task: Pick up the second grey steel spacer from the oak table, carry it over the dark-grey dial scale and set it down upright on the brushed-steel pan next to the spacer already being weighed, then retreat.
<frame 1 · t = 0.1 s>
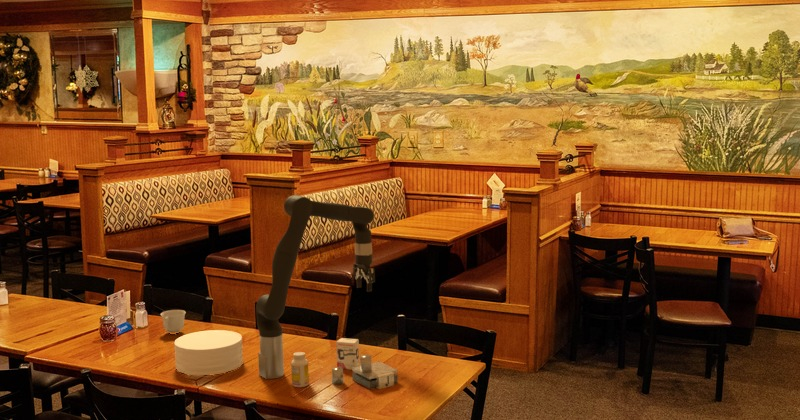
hand: (364, 289, 366), 29 cm above the table, fingers open, 8 cm apart
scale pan: (374, 371, 335), point 4 cm above the table, slide at -0.3 cm, touching spacer 1
scale base: (374, 381, 336), on the table
supplement bottle: (300, 385, 333), on the table
spacer 2: (337, 383, 335), on the table
plate stack: (209, 365, 359), on the table
spacer 1: (366, 370, 333), point 5 cm above the table, touching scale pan
ink box: (348, 367, 353), on the table
teacup: (173, 334, 406), on the table
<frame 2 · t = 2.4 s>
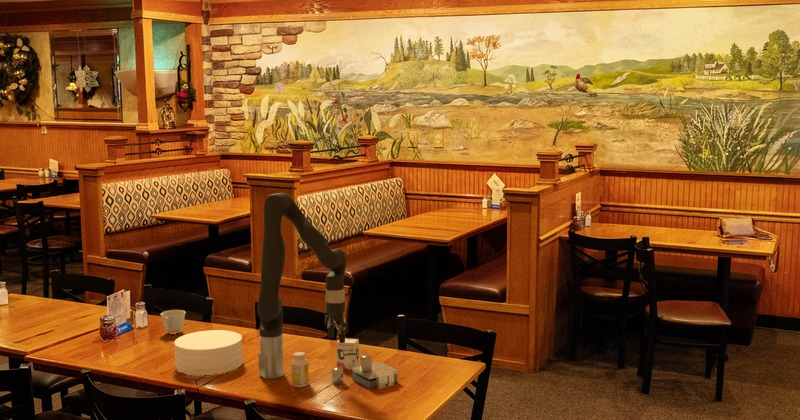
hand: (336, 340, 332), 18 cm above the table, fingers open, 8 cm apart
nothing on the table moved.
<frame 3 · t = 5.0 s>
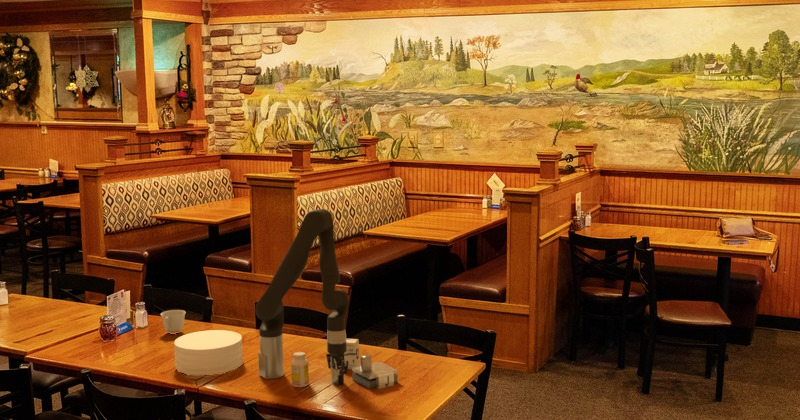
hand: (337, 381, 335), 1 cm above the table, fingers closed on spacer 2, 4 cm apart
spacer 2: (337, 383, 335), on the table, touching gripper
everything else where it was.
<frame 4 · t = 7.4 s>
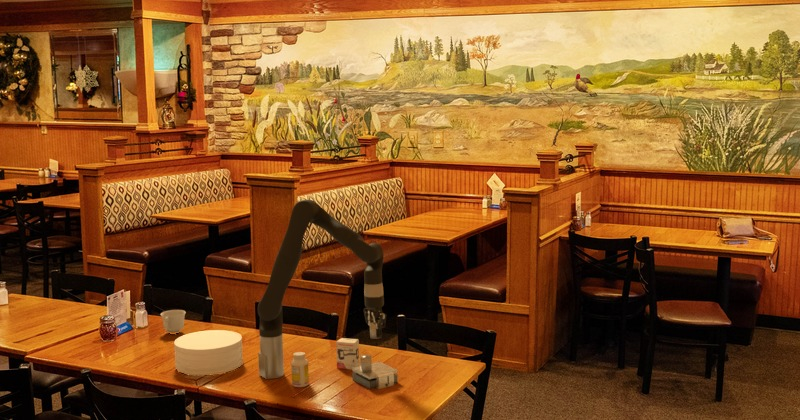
hand: (375, 335, 334), 18 cm above the table, fingers closed on spacer 2, 4 cm apart
spacer 2: (375, 337, 335), point 18 cm above the table, touching gripper
everything else where it was.
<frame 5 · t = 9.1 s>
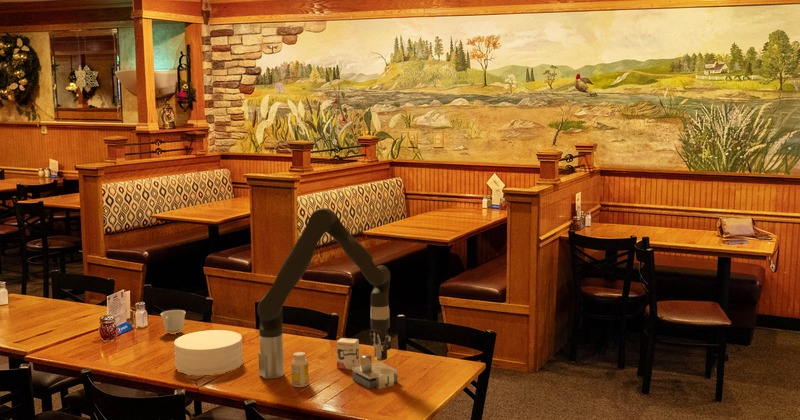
hand: (380, 357, 336), 9 cm above the table, fingers closed on spacer 2, 4 cm apart
spacer 2: (381, 358, 337), point 9 cm above the table, touching gripper
everything else where it was.
when the fingers open (7 cm above the table, at t = 10.3 s): spacer 2 drops 2 cm, resting on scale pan.
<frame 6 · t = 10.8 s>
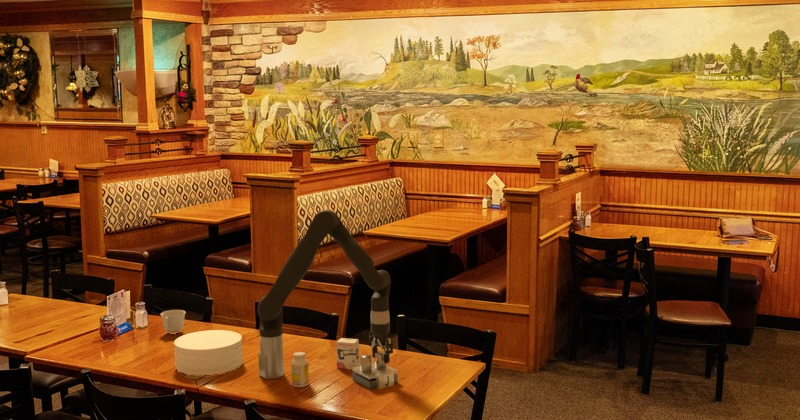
hand: (380, 360, 337), 8 cm above the table, fingers open, 8 cm apart
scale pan: (374, 371, 335), point 4 cm above the table, slide at -0.3 cm, touching scale base, spacer 1, spacer 2
spacer 2: (380, 367, 337), point 5 cm above the table, touching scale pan
everything else where it was.
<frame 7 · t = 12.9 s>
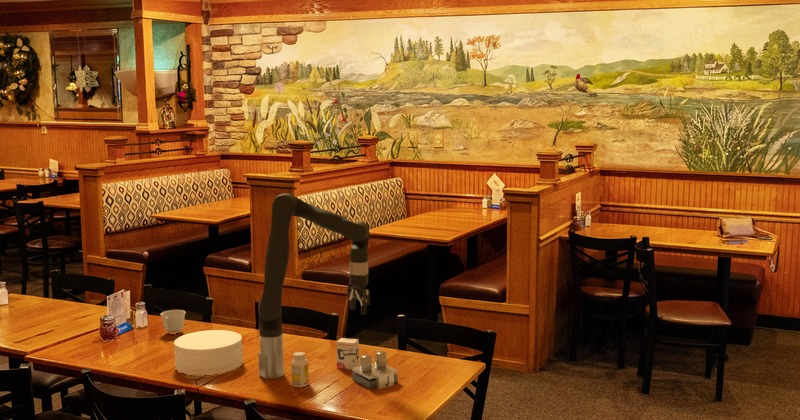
hand: (358, 312, 338), 27 cm above the table, fingers open, 8 cm apart
nothing on the table moved.
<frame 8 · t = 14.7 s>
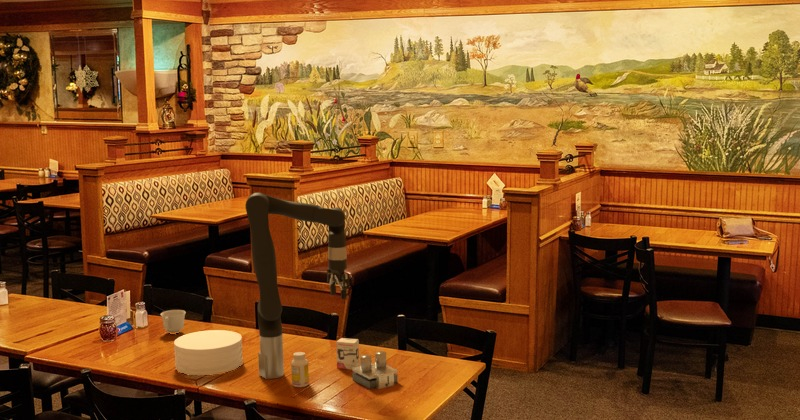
hand: (338, 296, 342), 32 cm above the table, fingers open, 8 cm apart
nothing on the table moved.
at the end: spacer 2 inside the target area on the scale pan (2.8 cm from its centre), point 5.4 cm above the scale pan's base; spacer 2 tilted 0°; the gripper is holding nothing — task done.
